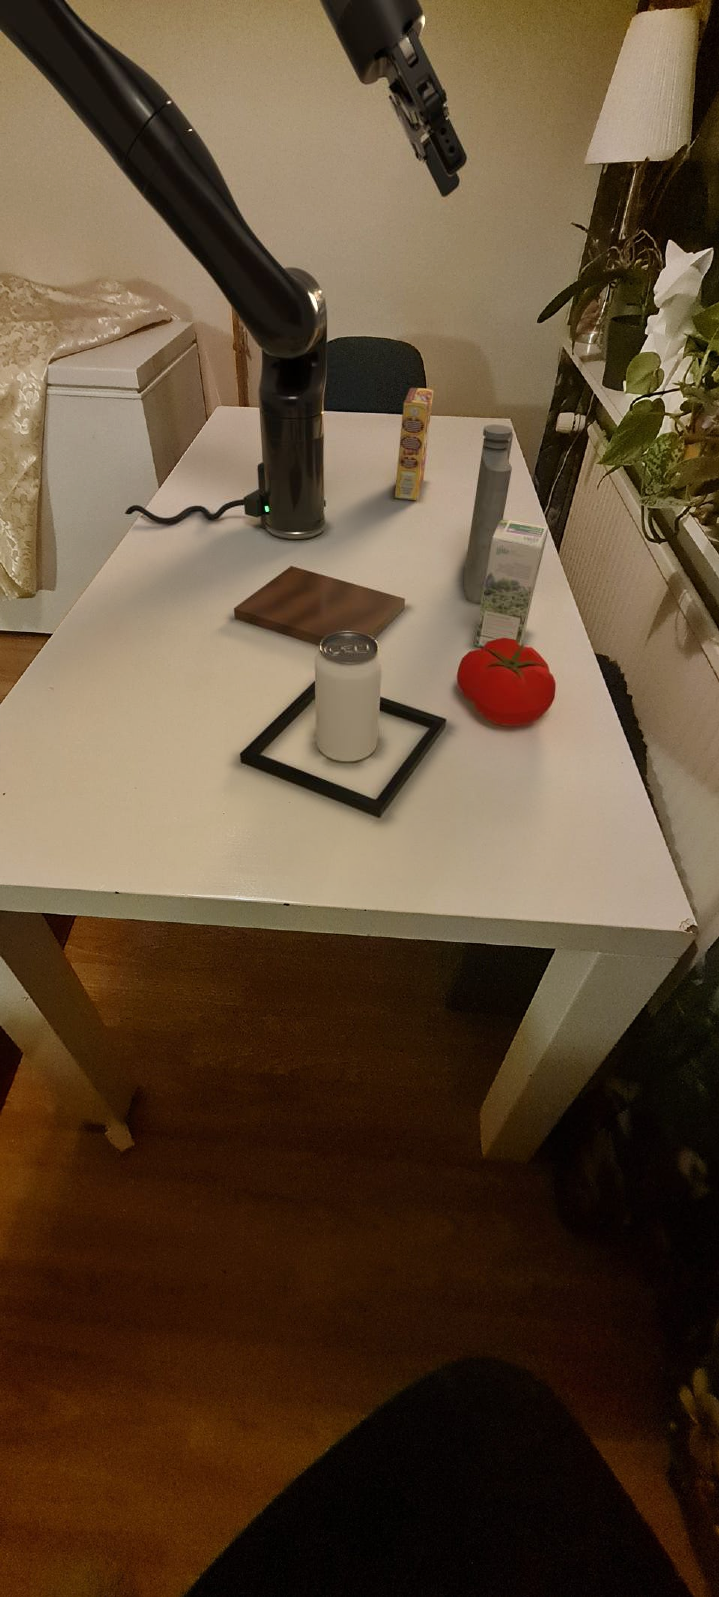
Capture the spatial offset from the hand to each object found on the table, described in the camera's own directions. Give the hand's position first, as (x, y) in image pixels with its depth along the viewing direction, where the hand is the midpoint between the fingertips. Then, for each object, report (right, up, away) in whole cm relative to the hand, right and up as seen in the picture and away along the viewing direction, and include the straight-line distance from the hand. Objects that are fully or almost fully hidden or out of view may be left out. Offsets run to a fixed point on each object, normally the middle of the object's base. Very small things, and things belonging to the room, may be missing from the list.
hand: (455, 180), depth 73 cm
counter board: (-15, -39, +21) cm, 47 cm away
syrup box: (+8, -43, +18) cm, 48 cm away
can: (-11, -58, +2) cm, 59 cm away
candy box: (-1, -9, +53) cm, 54 cm away
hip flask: (+7, -31, +31) cm, 44 cm away
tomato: (+6, -53, +8) cm, 54 cm away
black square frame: (-11, -58, +2) cm, 59 cm away
